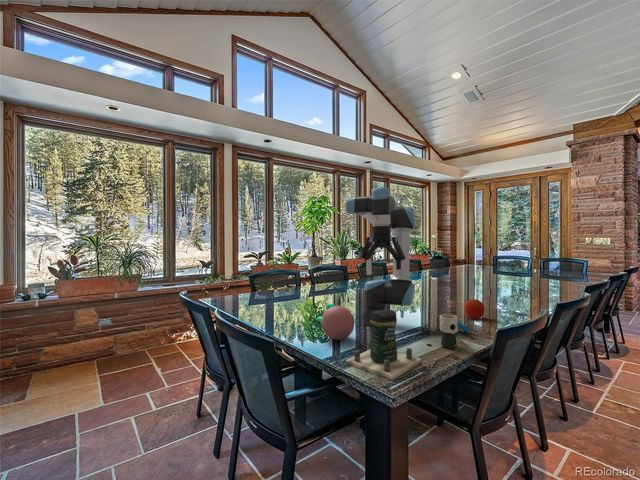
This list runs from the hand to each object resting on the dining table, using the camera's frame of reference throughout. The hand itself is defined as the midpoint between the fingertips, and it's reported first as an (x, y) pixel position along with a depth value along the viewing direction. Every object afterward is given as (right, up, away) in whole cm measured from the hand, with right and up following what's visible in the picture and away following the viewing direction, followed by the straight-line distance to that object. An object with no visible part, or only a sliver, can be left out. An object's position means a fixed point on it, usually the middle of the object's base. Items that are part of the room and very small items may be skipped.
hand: (382, 276), depth 132 cm
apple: (+61, -30, +46) cm, 82 cm away
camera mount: (-22, -31, +42) cm, 57 cm away
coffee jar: (-2, -30, -14) cm, 33 cm away
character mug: (+28, -31, +1) cm, 42 cm away
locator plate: (-3, -31, -14) cm, 34 cm away
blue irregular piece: (+42, -30, +21) cm, 56 cm away
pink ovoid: (-19, -31, +16) cm, 40 cm away
